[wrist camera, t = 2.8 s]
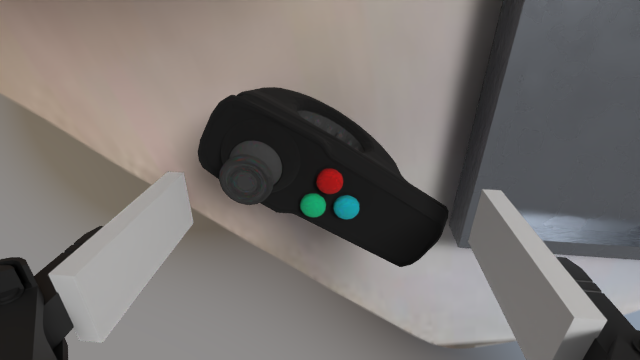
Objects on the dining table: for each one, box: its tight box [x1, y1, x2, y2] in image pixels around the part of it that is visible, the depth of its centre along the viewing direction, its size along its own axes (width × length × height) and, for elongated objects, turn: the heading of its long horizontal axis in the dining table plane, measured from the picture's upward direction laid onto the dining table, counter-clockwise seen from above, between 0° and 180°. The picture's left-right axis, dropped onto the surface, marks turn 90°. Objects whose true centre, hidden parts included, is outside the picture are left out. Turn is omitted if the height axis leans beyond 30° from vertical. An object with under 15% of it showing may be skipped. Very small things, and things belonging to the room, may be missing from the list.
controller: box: [198, 87, 449, 267], centre depth 17 cm, size 4×12×10 cm, turn 60°
